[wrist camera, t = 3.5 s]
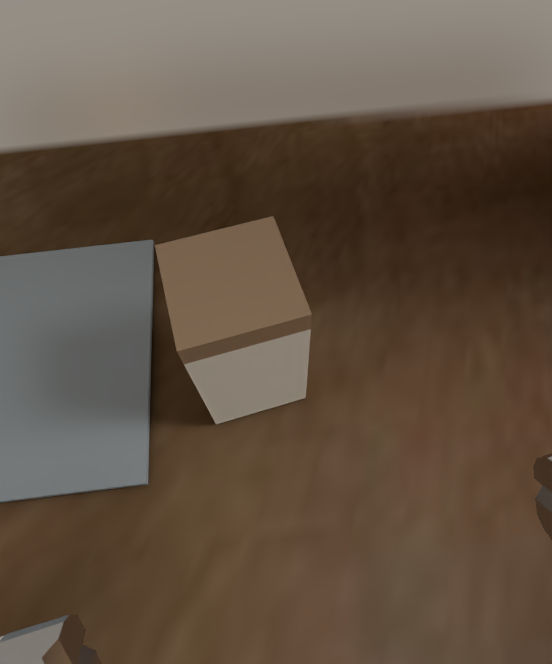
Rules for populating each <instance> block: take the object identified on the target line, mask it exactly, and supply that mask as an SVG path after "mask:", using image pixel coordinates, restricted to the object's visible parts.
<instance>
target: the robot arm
mask: <svg viewBox="0 0 552 664" xmlns="http://www.w3.org/2000/svg"><path fill="white" fill-rule="evenodd" d="M534 478H535V479H536V480H537V481H538V482H539V483H540V484H541V485H542V487H541V489H540V491H539V493H538V495H537V497H536V498H535V500H536V509H537V515H538V517H539V519H540V522H541V524H542V526H543V528H544V530H545V531H546V533H547V534H548V535H549V537H550V538H551V539H552V453H551V454H548V455H545V456H542V457H539V458H537V459H536V461H535V464H534ZM85 631H86V630H85V628H84V626H83V625H82V623H81V621H80V619H79V617H78V615H67V616H63V617H60V618H57V619H54V620H50V621H47V622H44V623H41V624H37V625H34V626H31V627H28V628H24V629H21V630H18V631H15V632H11V633H8V634H6V635H5V636H1V637H0V664H101V661H100V659H99V657H98V655H97V653H96V651H95V650H93V649H91V648H89V647H87V646H85V645H83V644H82V643H83V639H84V635H85Z"/></svg>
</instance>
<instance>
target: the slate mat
mask: <svg viewBox="0 0 552 664" xmlns="http://www.w3.org/2000/svg"><path fill="white" fill-rule="evenodd" d="M153 272H154V241H153V240H144V241H135V242H126V243H117V244H108V245H99V246H90V247H81V248H72V249H63V250H54V251H45V252H36V253H27V254H18V255H9V256H0V503H3V502H11V501H19V500H27V499H35V498H43V497H51V496H59V495H67V494H75V493H83V492H91V491H100V490H108V489H116V488H124V487H132V486H140V485H148V466H149V427H150V388H151V349H152V311H153Z"/></svg>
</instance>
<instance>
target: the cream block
mask: <svg viewBox="0 0 552 664" xmlns="http://www.w3.org/2000/svg"><path fill="white" fill-rule="evenodd" d="M155 249H156V254H157V258H158V263H159V268H160V273H161V278H162V283H163V287H164V292H165V297H166V302H167V307H168V312H169V317H170V321H171V326H172V331H173V336H174V341H175V346H176V350H177V353H178V355H179V357H180V359H181V360H182V362H183V364H184V366H185V368H186V370H187V371H188V373H189V375H190V377H191V379H192V381H193V383H194V384H195V386H196V388H197V390H198V392H199V394H200V396H201V397H202V399H203V401H204V403H205V405H206V407H207V408H208V410H209V412H210V414H211V416H212V418H213V420H214V421H215V423H216V424H219V423H222V422H226V421H229V420H233V419H236V418H239V417H243V416H246V415H249V414H253V413H256V412H260V411H263V410H266V409H270V408H273V407H277V406H280V405H283V404H287V403H290V402H293V401H297V400H300V399H304V398H306V387H307V373H308V360H309V346H310V333H311V320H312V313H311V311H310V308H309V306H308V303H307V301H306V298H305V296H304V293H303V291H302V288H301V285H300V283H299V280H298V278H297V275H296V273H295V270H294V268H293V265H292V262H291V260H290V257H289V255H288V252H287V250H286V247H285V245H284V242H283V239H282V237H281V234H280V232H279V229H278V227H277V224H276V222H275V219H274V216H271V217H267V218H263V219H259V220H255V221H251V222H247V223H243V224H239V225H235V226H231V227H227V228H223V229H219V230H215V231H210V232H206V233H202V234H198V235H194V236H190V237H186V238H182V239H178V240H174V241H170V242H166V243H162V244H158V245H155Z"/></svg>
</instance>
